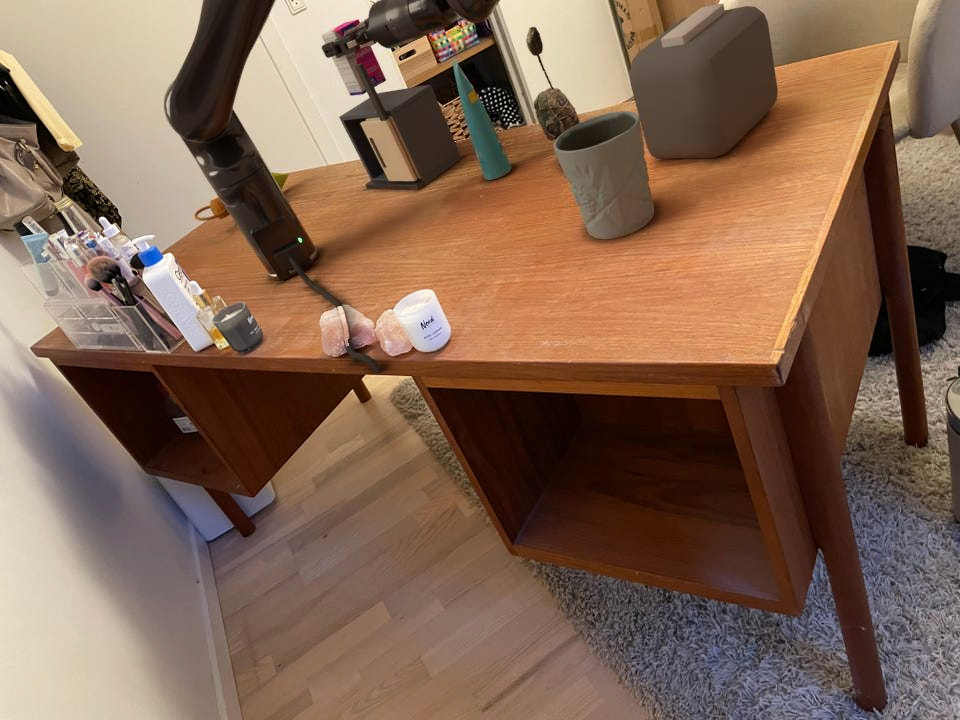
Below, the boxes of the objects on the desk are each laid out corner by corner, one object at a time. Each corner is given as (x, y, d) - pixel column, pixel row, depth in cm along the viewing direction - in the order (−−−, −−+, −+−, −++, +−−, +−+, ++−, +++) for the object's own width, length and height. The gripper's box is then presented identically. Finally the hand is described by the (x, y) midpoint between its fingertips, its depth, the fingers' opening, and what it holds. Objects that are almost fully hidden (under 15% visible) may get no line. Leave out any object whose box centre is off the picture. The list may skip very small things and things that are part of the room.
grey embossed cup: (567, 240, 87) (536, 153, 80) (610, 198, 92) (584, 113, 85) (635, 244, 80) (606, 149, 73) (678, 198, 84) (655, 105, 78)
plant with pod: (539, 179, 106) (493, 51, 96) (571, 145, 113) (531, 21, 102) (585, 174, 101) (541, 37, 91) (615, 138, 108) (578, 6, 97)
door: (413, 181, 125) (358, 65, 113) (388, 181, 131) (333, 71, 120) (417, 179, 125) (362, 62, 114) (391, 179, 132) (337, 68, 120)
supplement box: (363, 94, 126) (332, 31, 120) (350, 96, 130) (319, 35, 124) (387, 80, 128) (358, 17, 122) (373, 82, 132) (344, 21, 126)
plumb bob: (283, 188, 167) (194, 233, 153) (271, 152, 161) (178, 195, 147) (305, 195, 162) (216, 242, 148) (294, 158, 156) (200, 204, 142)
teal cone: (516, 173, 112) (472, 56, 102) (490, 185, 113) (443, 71, 102) (506, 161, 119) (463, 51, 108) (480, 173, 119) (435, 64, 109)
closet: (418, 190, 125) (383, 115, 117) (366, 188, 138) (332, 121, 130) (461, 158, 130) (430, 84, 122) (407, 159, 143) (376, 93, 135)
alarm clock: (713, 110, 101) (691, 1, 93) (788, 105, 93) (771, -16, 85) (652, 166, 94) (622, 54, 86) (727, 165, 86) (702, 41, 78)
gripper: (415, -19, 118) (350, 8, 128) (368, 10, 109) (302, 37, 119) (433, 25, 122) (369, 49, 132) (389, 57, 113) (324, 79, 123)
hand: (337, 43), depth 126 cm, fingers closed on supplement box, 7 cm apart
